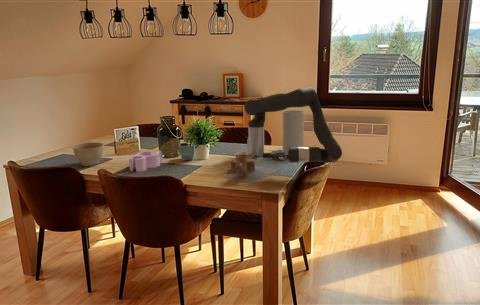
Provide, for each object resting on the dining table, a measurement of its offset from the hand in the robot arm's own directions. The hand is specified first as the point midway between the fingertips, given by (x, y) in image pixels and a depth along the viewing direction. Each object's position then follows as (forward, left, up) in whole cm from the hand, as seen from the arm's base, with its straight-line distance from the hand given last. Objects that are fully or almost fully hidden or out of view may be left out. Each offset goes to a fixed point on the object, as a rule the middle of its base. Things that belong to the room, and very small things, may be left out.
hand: (262, 155), depth 189 cm
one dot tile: (-9, -6, -11) cm, 15 cm away
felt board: (-8, +2, -11) cm, 14 cm away
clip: (-66, -18, -12) cm, 69 cm away
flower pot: (-57, +6, -12) cm, 58 cm away
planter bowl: (-97, -32, -12) cm, 102 cm away
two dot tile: (-10, +8, -8) cm, 16 cm away
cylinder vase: (-13, +52, -12) cm, 55 cm away
